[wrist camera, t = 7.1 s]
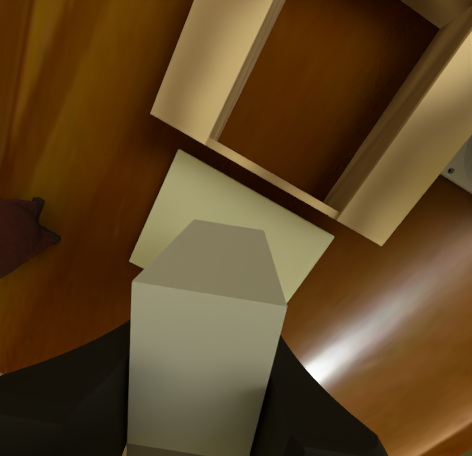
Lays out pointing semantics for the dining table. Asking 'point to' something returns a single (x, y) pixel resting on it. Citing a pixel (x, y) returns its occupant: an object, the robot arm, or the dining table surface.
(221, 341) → the block
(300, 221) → the sage board
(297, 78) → the dining table surface
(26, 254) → the mate gourd
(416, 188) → the carton
